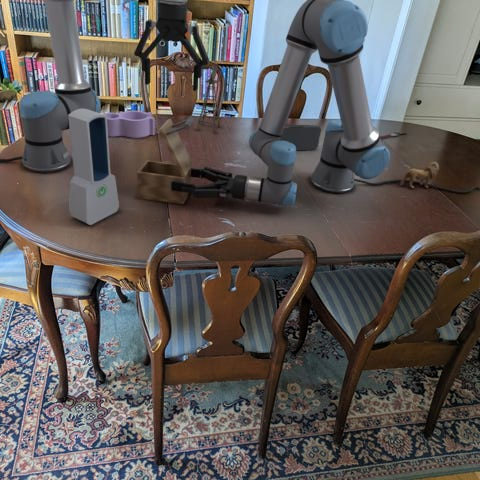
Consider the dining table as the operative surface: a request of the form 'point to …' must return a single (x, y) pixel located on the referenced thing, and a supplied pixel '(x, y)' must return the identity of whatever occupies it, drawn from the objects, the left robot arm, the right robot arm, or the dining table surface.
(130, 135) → the purple wavy organizer
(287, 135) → the rounded dark grey slab
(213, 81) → the miniature windmill
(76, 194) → the electronic device
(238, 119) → the dining table surface
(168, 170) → the chest
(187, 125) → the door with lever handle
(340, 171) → the right robot arm
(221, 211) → the dining table surface
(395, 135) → the sword
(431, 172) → the lion figurine
